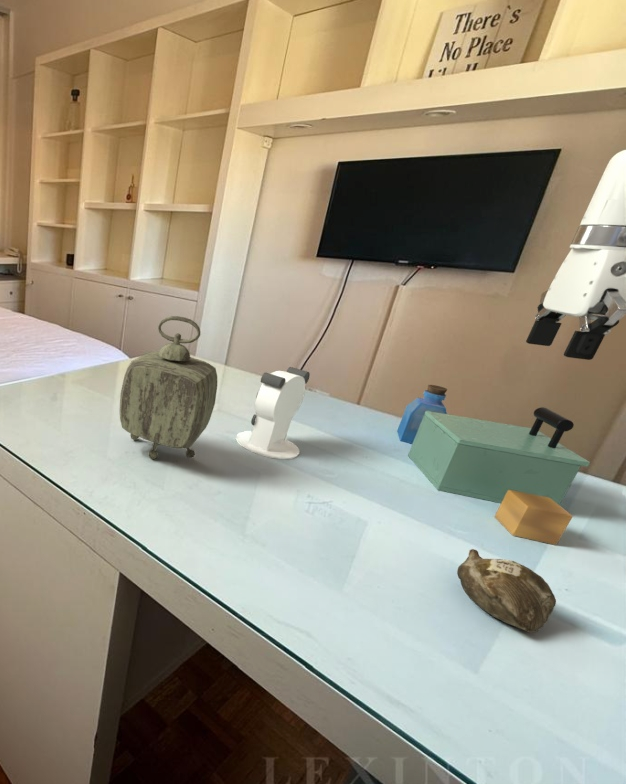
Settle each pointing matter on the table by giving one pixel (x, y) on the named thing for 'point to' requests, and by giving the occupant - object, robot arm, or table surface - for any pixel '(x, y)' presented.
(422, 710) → the table surface
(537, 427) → the lid
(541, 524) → the block
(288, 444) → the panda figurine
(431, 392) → the perfume bottle
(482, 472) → the green storage box
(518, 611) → the fossilized seashell
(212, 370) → the tabletop clock
